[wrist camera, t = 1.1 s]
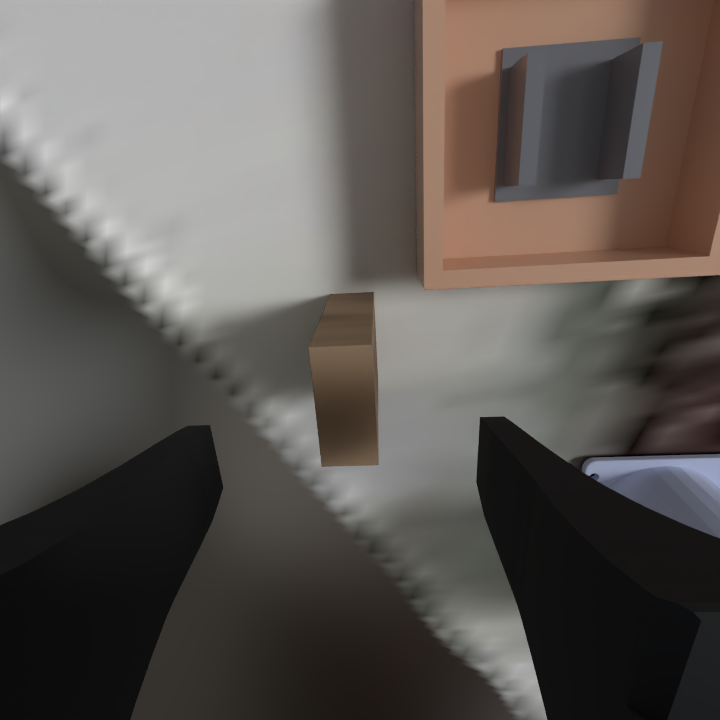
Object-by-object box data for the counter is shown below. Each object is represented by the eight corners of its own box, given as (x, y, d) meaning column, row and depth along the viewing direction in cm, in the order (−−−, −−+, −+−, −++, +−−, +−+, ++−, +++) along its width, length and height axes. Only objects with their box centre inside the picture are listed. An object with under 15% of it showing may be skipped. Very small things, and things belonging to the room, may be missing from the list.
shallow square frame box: (670, 260, 19) (724, 274, 16) (417, 273, 20) (424, 289, 17) (736, -66, 15) (826, -128, 12) (413, -36, 15) (422, -88, 13)
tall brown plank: (378, 380, 22) (378, 464, 15) (338, 382, 22) (321, 466, 15) (373, 292, 20) (372, 344, 14) (330, 294, 20) (308, 347, 14)
